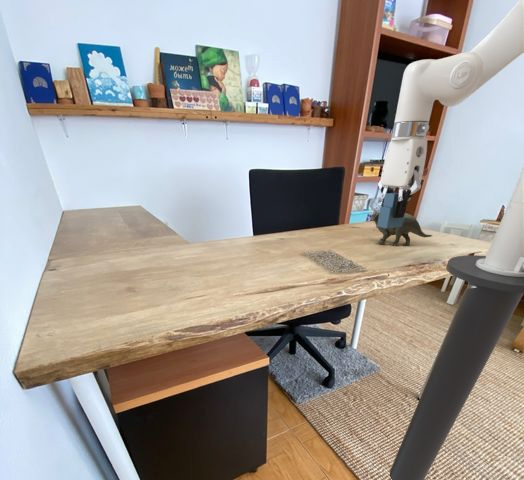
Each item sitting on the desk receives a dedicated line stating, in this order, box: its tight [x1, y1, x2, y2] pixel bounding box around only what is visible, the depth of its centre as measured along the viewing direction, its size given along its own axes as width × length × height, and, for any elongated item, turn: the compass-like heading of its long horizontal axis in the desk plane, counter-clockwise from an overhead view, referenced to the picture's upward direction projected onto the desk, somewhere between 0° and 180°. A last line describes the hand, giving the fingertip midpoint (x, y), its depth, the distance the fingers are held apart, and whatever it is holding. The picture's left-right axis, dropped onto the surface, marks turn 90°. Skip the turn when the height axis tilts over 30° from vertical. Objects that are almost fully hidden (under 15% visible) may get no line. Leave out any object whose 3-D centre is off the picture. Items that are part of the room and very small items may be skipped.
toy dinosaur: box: [370, 204, 433, 247], centre depth 99 cm, size 22×8×11 cm, turn 51°
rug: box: [302, 249, 368, 273], centre depth 83 cm, size 10×20×1 cm, turn 18°
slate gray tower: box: [376, 192, 404, 228], centre depth 79 cm, size 4×5×8 cm
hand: (391, 215), depth 80 cm, fingers closed on slate gray tower, 4 cm apart
